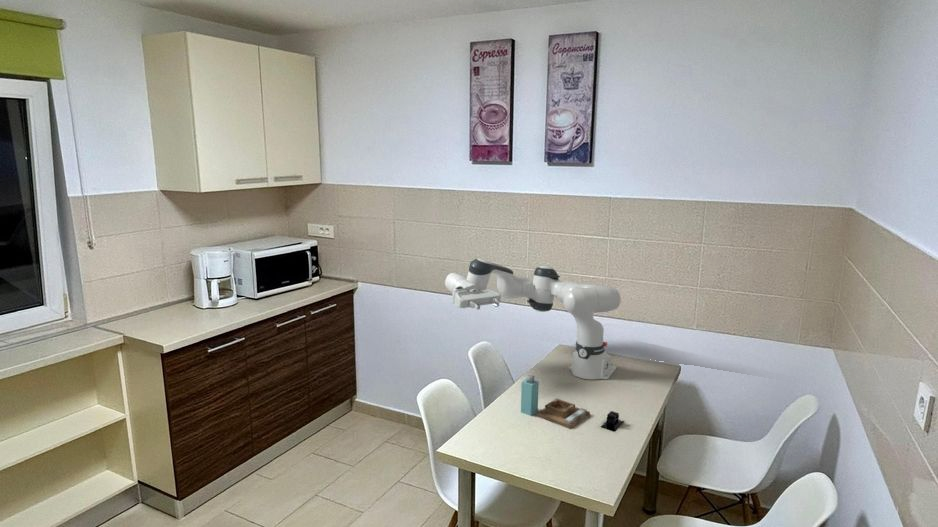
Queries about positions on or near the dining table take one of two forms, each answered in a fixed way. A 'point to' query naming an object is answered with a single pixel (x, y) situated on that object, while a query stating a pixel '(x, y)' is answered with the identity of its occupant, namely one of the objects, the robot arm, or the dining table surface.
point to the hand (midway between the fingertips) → (488, 306)
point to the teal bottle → (529, 395)
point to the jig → (563, 413)
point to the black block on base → (612, 422)
